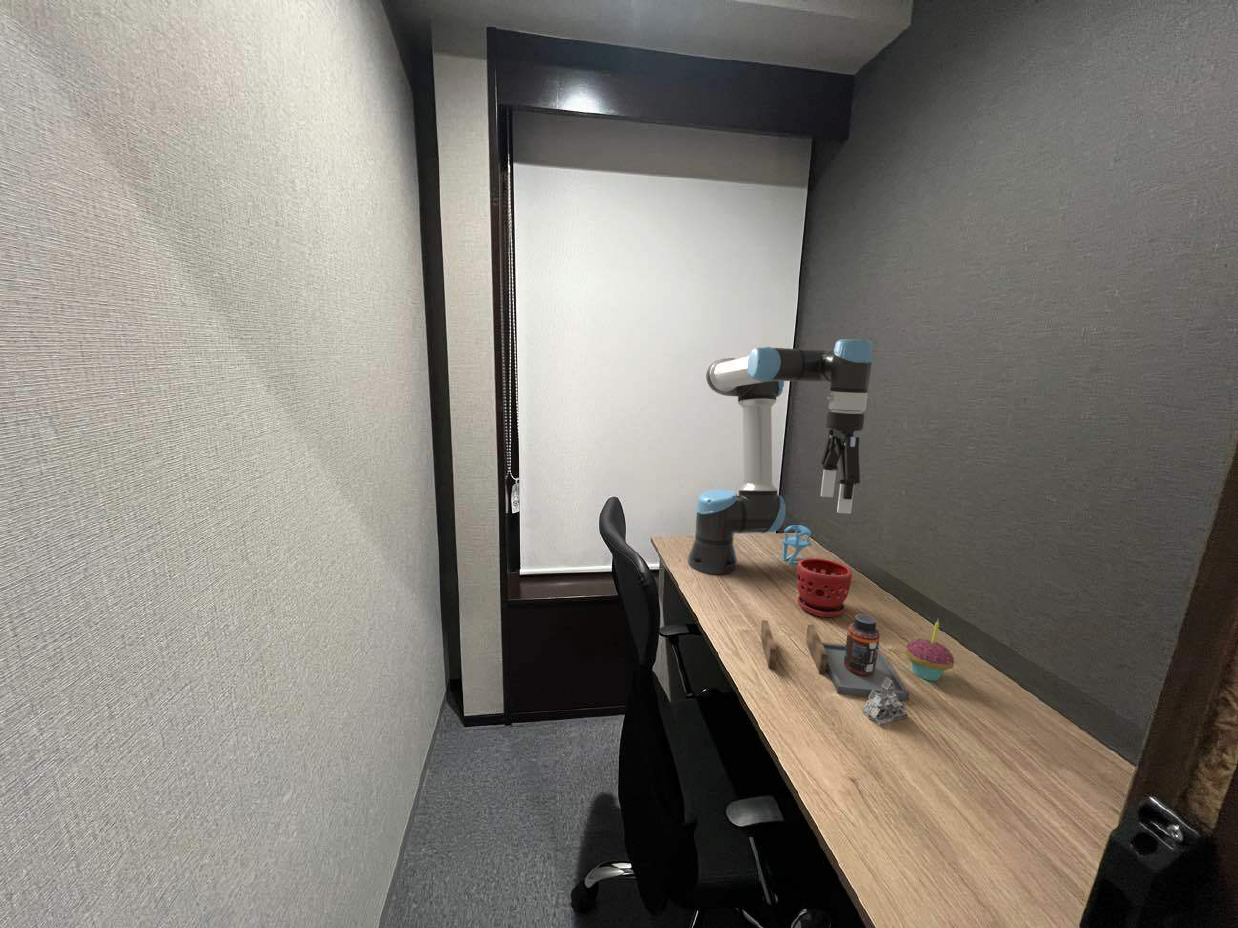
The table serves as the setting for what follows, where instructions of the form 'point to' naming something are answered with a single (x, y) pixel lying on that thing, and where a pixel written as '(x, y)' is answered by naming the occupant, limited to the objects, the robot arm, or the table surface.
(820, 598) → the plant pot
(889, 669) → the tray
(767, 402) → the robot arm
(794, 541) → the chair
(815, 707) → the table surface
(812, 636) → the cradle
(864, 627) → the supplement bottle
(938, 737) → the table surface
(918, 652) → the cupcake
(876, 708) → the house of cards
